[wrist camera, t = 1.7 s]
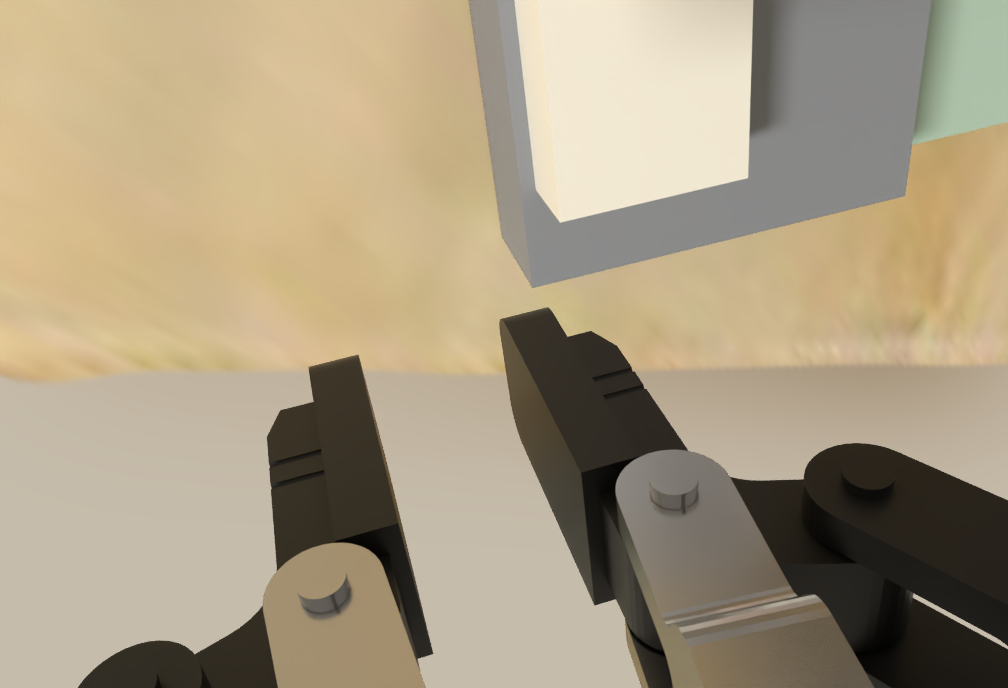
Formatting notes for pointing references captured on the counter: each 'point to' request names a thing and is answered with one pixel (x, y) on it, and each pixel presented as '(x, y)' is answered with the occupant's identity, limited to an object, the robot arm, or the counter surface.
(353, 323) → the counter surface
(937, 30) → the mat
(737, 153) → the cream rectangular slab
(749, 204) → the block
